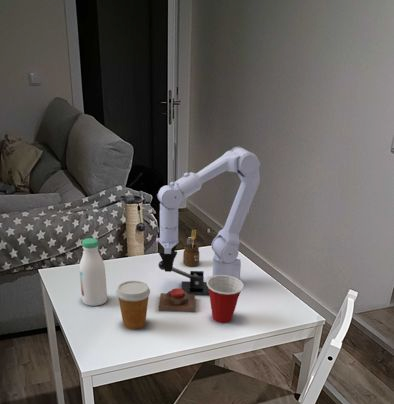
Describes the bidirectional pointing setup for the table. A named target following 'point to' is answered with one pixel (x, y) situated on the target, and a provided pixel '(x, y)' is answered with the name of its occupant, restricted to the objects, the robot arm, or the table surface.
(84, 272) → the milk bottle
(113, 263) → the table surface
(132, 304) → the disposable coffee cup
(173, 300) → the button block
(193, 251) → the utensil holder
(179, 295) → the button
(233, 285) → the plastic cup
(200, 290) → the bracket
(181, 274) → the lever
